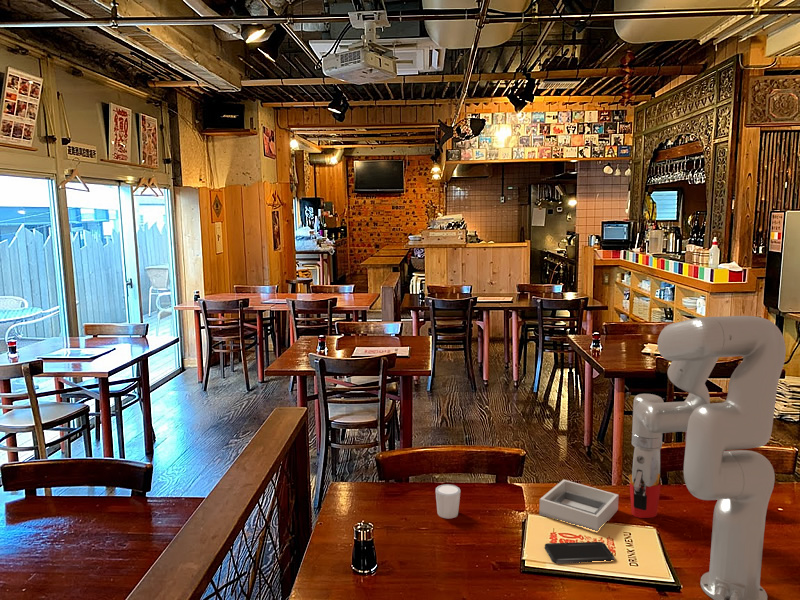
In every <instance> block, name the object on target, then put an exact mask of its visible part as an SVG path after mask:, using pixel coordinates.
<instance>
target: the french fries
mask: <svg viewBox="0 0 800 600" xmlns="http://www.w3.org/2000/svg"><path fill="white" fill-rule="evenodd" d="M660 477H661V473H660V474H658V479H657V475H656V480H657V481H656V482H655V483H654V484H653V485H652V486H651V487H648V486H647V490H646V496H647V507H646V510H642V509H638V508H635V507H634V484H635V483H634V482H633V481H632V474H628V480H629V494H630V495H629V496H630V498H629V499H630V509H631V510H630V511H631V515H633V516H634V518H639V519H645V518H646V519H648V518H655V517H656V516H658V508H659V501H660V496H661V495H660V494H661V486H662V484H661V483H660ZM634 480H636V478H635V479H634ZM641 483H643V484H645V483H644V482H643V481H641ZM640 486H641V485H640ZM641 488H642V489H643V488H644V486H641Z"/></svg>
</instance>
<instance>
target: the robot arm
mask: <svg viewBox="0 0 800 600" xmlns="http://www.w3.org/2000/svg"><path fill="white" fill-rule="evenodd" d="M785 342H786V341H785V338H784V336H783V333H782V332H781V330H780V328H779V327H778V326H777V325H776V324H775V323H774V322H773V321H771V320H770V319H767V318H764V317H761V316H760V317H759V316H755V315H754V316H753V315H729V316H702V317H701V316H700V317H696V318H690V319H687V320H683V321H679V322H673V323H669V324H668V325H666V326H664V328H663V329H662V330H661V331H660V333H659V335H658V338H657V350H658V353H659V355H660V356H661V358H663V359H664V360H666V361H671V363H670V365H669V366H668V369H667V377H668V379H669V381H670V383H672V384H673V385H674V386H675V387H677V388H678V389H681V390H682V391H684V392H685V393H686V392H687V393H688V395H687V397H686V399H685V400H684V401H669V402H664V399H663V398H662V397H661V396H659V395H656V394H653V393H652V394H651V393H639V394H637V395H635V396H634V398H633V407H632V426H631V428H632V431H631V445H632V446H633V447H634V448H633V449H634V450H633V459H632V468H631V469H632V470H631V472H632V473H631V475H632V481H633V482H634V483H635V484H634V507H635V508H638V509H642V510H646V507H647V496H646V490H647V486H648V487H651V486H652V485H653V484H654V483H655V482H656V481H657V480H656V475H657V479H658V474H660V475H661V449H662V446H663V434H664V433H665V434H667V433H677V432H679V433H680V432H681V433H682V432H686V438H685V449H684V458H683V459H684V460H683V480H684V483H685V486H686V488H687V490H688V492H689V493H690V494H691V495H692V496H693V497H695V499H696V498H697V499H699V500H701V501H716V500H717V501H716V503H715V505H714V509H713V514H712V515H713V517H712V532H711V544H710V546H711V547H710V555H709V556H710V557H709V558H710V559H709V560H710V561H709V571H707V572H705V573H703V574H702V576H701V577H700V582H699V583H700V587H701V589H702V591H703V592H704V593H705V595H707V596H708V597H709V598H711V599H712V600H768V594H767V592H766V590H765V589H764V588H763V587H762V586H761V575H762V574H761V573H762V571H761V570H762V562H763V561H762V560H763V550H764V549H763V548H764V539H765V538H764V537H765V527H766V518H767V517H766V516H767V511H768V506H769V502H770V499H771V495H772V493H773V490H774V486H775V481H776V480H775V478H776V477H775V470H774V467H773V465H772V464H771V461H770V460H769V459H768V458H766V456H764V455H762V454H761V453H759V452H757V451H753V450H748V449H755V448H760V447H764V446H765V445H767V443H768V442H769V441H770V439H771V436H772V431H773V424H774V417H775V408H776V401H777V392H778V390H777V389H778V385H779V381H780V377H781V374H782V371H783V368H784V366H785V365H784V364H785V360H786V351H787V350H786V344H785ZM731 357H733V358H734V357H742V361H741V362H740V363H739V364H738V365H737V366H736V368H735V369H734V371H733V372H732V373H731V376H730V379H729V382H728V389H727V390H728V391H727V396H726V399H725V401H723V402H712V403H711V400H710V392H709V390H708V387H707V386H706V382H707V381H708V379H709V377H710V375H711V373H712V371H713V369H714V367H715V366H716V364H717V362H718V360H719V358H731ZM635 478H636V480H634V479H635ZM641 481H643V482H644V483H645V484H643V483H641ZM640 485H641V486H644V488H643V489H642V488H641V486H640Z"/></svg>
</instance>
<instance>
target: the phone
mask: <svg viewBox="0 0 800 600" xmlns="http://www.w3.org/2000/svg"><path fill="white" fill-rule="evenodd" d="M544 549H545V552H546V554H547V555H548V557H549V559H550V560H551V562H552V563H553V564H554V565H555V564H556V565H564V564H565V565H566V564H567V565H568V564H569V565H570V564H582V563H581V562H592V561H604V560H606V561H611V560H614V561H615V556H614V554H613V553H612V552H611V550H610V549H609V547H608V546H607V545H606V544H605V542H601V541H587V542H586V541H584V542H581V541H578V542H548V543H545V544H544ZM579 562H580V563H579Z"/></svg>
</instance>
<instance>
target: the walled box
mask: <svg viewBox="0 0 800 600" xmlns="http://www.w3.org/2000/svg"><path fill="white" fill-rule="evenodd" d="M619 497H620V496H619V494H617V493H614V492H610V491H606V490H602V489H598V488H596V487H592V486H588V485H585V484H583V483H579V482H578V483H577V482H574V481H571V480H568V479H564V478H563V479H562V480H561V481H560V482H558V483H557V484H556V485H555V486H553V487H552V488H551V489H550V490H549V491H548V492H546V493H545V494H544V495H543V496H541V498H539V510H538V511H539V512H538V515H539V516H542V517H545V516H546V518H548V517H550V518H549V519H551V518H554V519H558V520H562V521H565V522H568V523H571V524H575V525H579V526H583V527H586V528H589V529H592V530H595V531H598V530H599V528H600V527H601V526H602V525H603V524H604V523H606V522H607V521H608V522H609V521H610V520H611V518H612V517H613V516H614V515H615V514H616V513H617V511H618V510H619ZM554 519H553V520H554ZM606 524H607V523H606Z"/></svg>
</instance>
